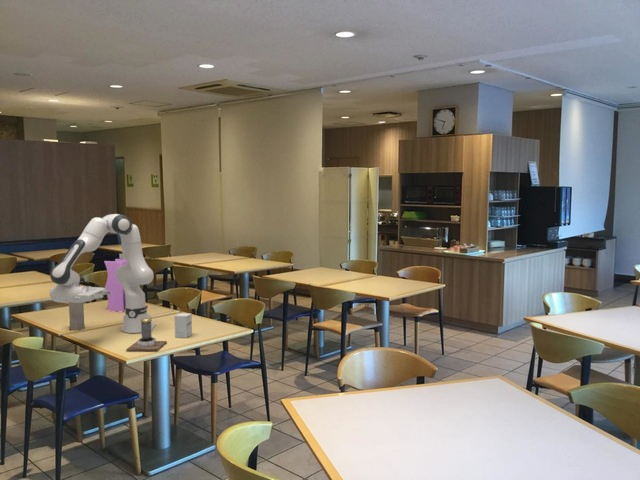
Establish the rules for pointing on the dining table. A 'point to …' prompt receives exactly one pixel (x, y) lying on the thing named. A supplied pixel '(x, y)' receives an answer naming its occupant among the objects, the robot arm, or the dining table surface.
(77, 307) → the thermos bottle
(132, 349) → the mount plate
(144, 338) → the dark grey canister
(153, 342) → the steel collar
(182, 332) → the supplement box
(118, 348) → the dining table surface
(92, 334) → the dining table surface
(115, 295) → the container
